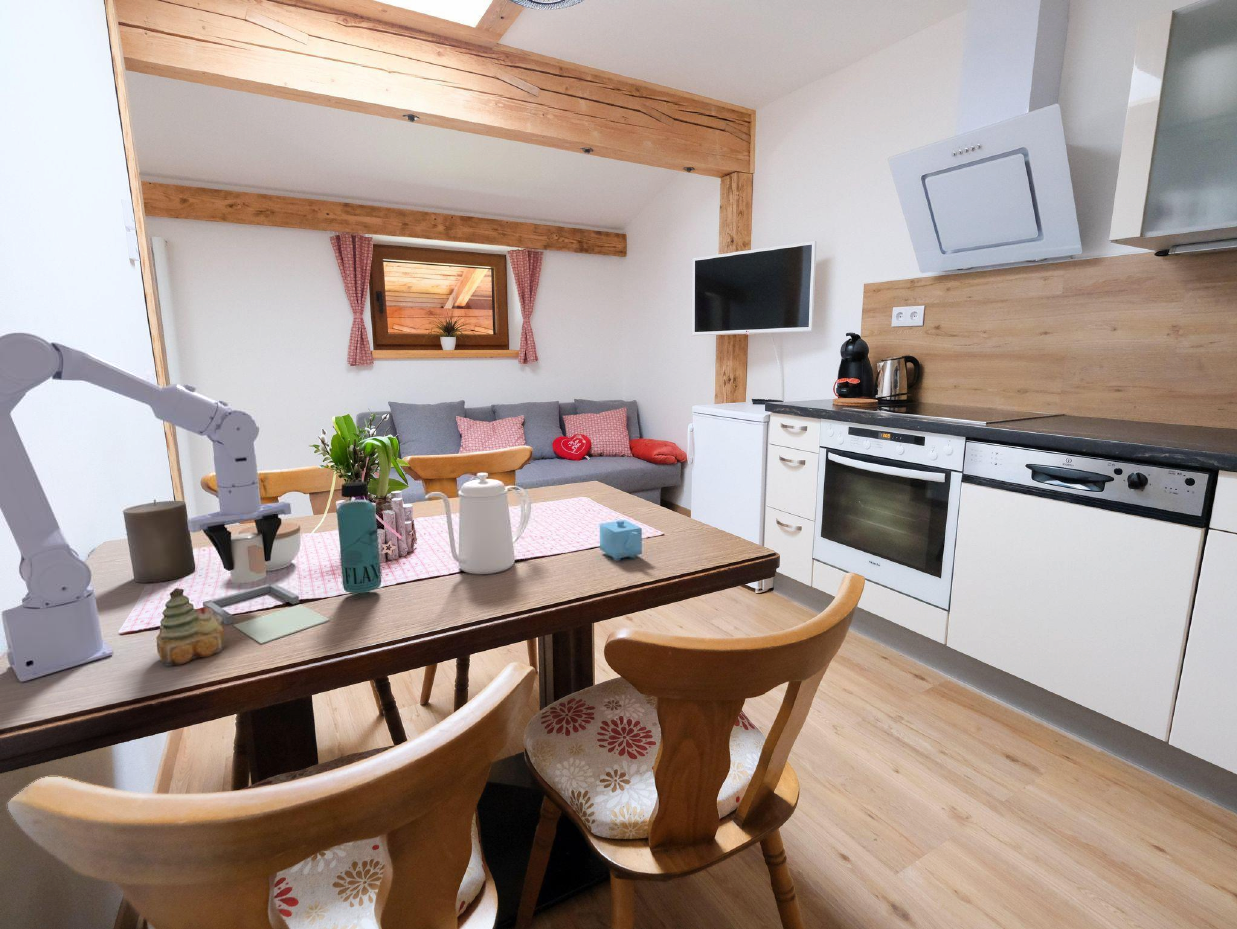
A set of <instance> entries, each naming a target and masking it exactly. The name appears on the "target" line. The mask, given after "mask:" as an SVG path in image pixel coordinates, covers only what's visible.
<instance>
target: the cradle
mask: <svg viewBox="0 0 1237 929" xmlns="http://www.w3.org/2000/svg"><path fill="white" fill-rule="evenodd" d="M267 592H269V593H271V592H272V593H271V594H273V595H275V596H277V597H279V598H281V599H282V598H283V600H284V599H285V601H286V600H287V601H286V602H288V601H289V602H288V603H290V604H292V605H295V604H299V603H300V596H299V594H296V593H294V592H292V591H291V590H288V589H286V588H284V587H282V586H280V585H278V584H276V583H275V582H271V583H266V584H264V585H260V586H257V587H253V588H250V589H246V590H243V591H239V592H235V593H231V594H229V595H223V596H220V597H218V598H217V597H216V598H212V599H210V600H205V601H202V607H211V608H212V609H213V614H215V615H220V616H221V617H222V624H224V625H226V626H229V625H231V624H234V623H235V622H234V615H233V614H232V613H230V612H228V611H226V610H225V609H224V608H222V607H223V606H227V605H230V604H234V603H237V602H240V601H245V600H248V599H252V598H255V597H258V596H257V595H259V596H262V595H266V594H268V593H267ZM265 593H266V594H265ZM261 594H262V595H261Z"/></svg>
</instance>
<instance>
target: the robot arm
mask: <svg viewBox="0 0 1237 929" xmlns="http://www.w3.org/2000/svg"><path fill="white" fill-rule="evenodd" d="M49 379H51V380H56V381H82V382H85V383H89V384H91V385H94V386H97V387H100V388H103V389H106V390H108V391H111V392H113V393H115V394H118V395H120V396H124V397H127V398H129V399H132V400H135V401H137V402H139V403H142V404H145V405H147V406H149V407H150V408H151V410H152V413H153V414H154V417H155V418H156V419H159V420H160V421H162V422H163V421H164V422H166V423H168V424H171V425H173V426H176V427H178V428H181V429H183V430H186V431H188V432H190V433H194V434H196V435H199V436H206V437H207V439H209V441H211V442H212V449H213V462H214V472H215V481H216V488H217V496H218V498H217V499H218V504H219V510H218V511H214V512H211V513H207V514H203V515H199V516H198V515H197V516H193V517H188V519H187V522H188V529H189V531H190V533H193V534H194V533H198V532H199V533H200V532H201V531H202V532H203V533H204V535H205V536H206V537H207V538H208V540H209V542H211V544H212V546H213V547H214V548H215V551H216V552H217V554H218V556H219V558H220V560H221V563H222V566H223V569H225V570H226V571H228V572H230V570H233V559H232V553H231V536H232V531H230V530H229V529H228V527H227V526H230V525H234V524H240V523H245V522H249V521H254V524H255V525H256V528H257V533H261V534H262V538H263V547H264V556H265V561H266V562H267V561H270V560H271V552H272V547H273V543H274V539H275V537H276V534H277V532H278V529H279V528H280V526H281V522H282V518H281V517H279V516H281V515H284V516H286V515H291V514H292V507H291V503H290V502H288V501H279V502H272V503H263V504H262V501H261V493H260V482H259V475H258V465H257V456H256V450H255V445H254V444H255V443H254V442H255V441H256V440H257V438H258V436H259V433H260V427H259V426H257V423H256V421H255V419H253V417H252V416H251V415H250V414H249V413H247V412H245V411H242V410H237V409H232V408H230V407H228V406H229V403H228V402H227V401H224V400H221V399H220V400H219V401H217V400H214V399H213V398H209V397H207V396H205V395H203V394H201V393H199V392H197V391H196V390H197V387H194V386H193V385H190V384H186V383H185V384H183V385H181V384H178V383H173V384H172V383H171V384H169V385H165V386H160V385H158V384H155V383H153V382H152V381H149V380H147V379H144V378H143V377H140V376H139V375H136V374H134V373H131V372H130V371H127V370H125V369H124V368H120V367H119V366H116V365H114V364H112V363H110V362H108V361H105V360H103V359H101V358H99V357H97V356H95V355H92V354H90V353H88V352H85V351H83V350H80V349H76V348H73V347H70V346H68V345H65V344H61V343H57V342H49V341H47V340H45V339H44V338H43V337H40V336H38V335H36V334H32V333H28V332H12V333H7V334H4V335H1V336H0V510H1V513H2V516H3V518H4V519H5V521H6V524H7V526H8V528H9V530H10V532H11V534H12V536H13V539H14V541H15V543H16V546H17V548H18V551H19V553H20V561H19V564H18V565H19V566H18V573H19V575H20V578H21V579H22V580H23V581H24V582H25V585H26V589H27V592H26V594H25V596H24V597H23V598H21V603H22V604H20V605H17V606H16V607H15V606H14V607H12V608H8V609H5V610H3V611H1V619H2V625H3V630H4V635H5V641H6V645H7V650H8V652H6V658H7V661H8V664H9V666H10V667H11V668H12V670H13V672H14V674H15V675H16V677H17V679H18V680H19V682H27V681H30V680H34V679H36V678H40V677H43V676H46V675H50V674H53V673H57V672H60V671H62V670H66V669H69V668H74V667H76V666H79V665H82V664H87V663H90V662H92V661H96V660H99V659H102V658H106V657H109V656H111V655H113V654H114V650H113V649H112V648H111V647H110V646H109V644H107V643H106V642H105V641H104V640H103V636H102V635H103V634H102V630H101V623H100V618H99V612H98V605H97V601H96V593H95V589H94V586H93V585H91V581H92V570H91V569H90V566H89V565H88V563H86V562H85V561H84V560H82V559H81V558H80V556H79V554H78V552H77V551H76V550H75V549H73V548H72V547H71V546H70V544H69V542H68V540H67V538H66V536H65V534H64V532H63V531H62V528H61V527H60V525H59V523H58V520H57V518H56V516H55V512H53V509H52V506H51V504H50V502H49V500H48V497H47V495H46V493H45V491H44V488H43V486H42V484H41V482H40V481H41V480H40V479H39V477H38V475H37V473H36V470H35V467H34V466H33V463H32V462H31V459H30V456H29V454H28V452H27V450H26V447H25V445H24V442H23V440H22V437H21V436H20V434H19V431H18V430H17V427H16V425H15V422H14V421H13V420H14V419H13V418H12V415H11V414H12V411H13V410H14V409H15V408H16V407H17V406H18V404H19V403H20V402H21V401H22V399H24V397H25V396H26V394H27V393H28V392H29V391H31V390H33V389H35V388H36V387H38V386H40V385H41V384H43V383H45V382H47V380H49ZM255 525H254V526H255Z"/></svg>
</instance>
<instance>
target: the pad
mask: <svg viewBox="0 0 1237 929" xmlns="http://www.w3.org/2000/svg"><path fill="white" fill-rule="evenodd" d="M327 622H330V618H328V617H325V616H323V615H322V614H319V613H318V612H316V611H314V610H312V609H310V608H308V607H306V606H305V605H302V604H301V603H300V604H297V605H294V606H290V607H287V608H284V609H280V610H278V611H274V612H271V613H268V614H265V615H262V616H259V617H256V618H252V619H249V620H246V621H242V622H239V623H236V624H233V627H234V628H236V629H237V630H239V631H241V632H242V633H243V634H245V635H246V636H248V637H249V638H251V639H252V640H254V641H255V642H257V643H258V644H259V645H264V644H266V643H269V642H272V641H275V640H278V639H280V638H283V637H287V636H289V635H292V634H295V633H298V632H300V631H303V630H307V629H310V628H313V627H315V626H318V625H321V624H323V623H327Z"/></svg>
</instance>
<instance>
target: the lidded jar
mask: <svg viewBox="0 0 1237 929" xmlns="http://www.w3.org/2000/svg"><path fill="white" fill-rule="evenodd" d="M243 533H257V528H256V525H252V526H251V525H250V526H249V527H246V528H243V529H241V530H240V531H238V534H243ZM238 534H237V535H238ZM301 540H302V539H301V525H300V524H299V523H297V522H293V521H281V526H280V528H279V529H278V532H277V534H276V537H275V539H274V543H273V547H272V552H271V560H270V561H267V562H266V561H265V565H266V572H269V571H271V572H272V571H278V570H282V569H285V568H287V566H288V567H289V566H291V565H292V562H293V561H294V560H295V559H296V557H297V556H298V554H299V552H300V548H301V547H300V546H301ZM290 564H291V565H290ZM281 568H282V569H281ZM277 569H278V570H277Z"/></svg>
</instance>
